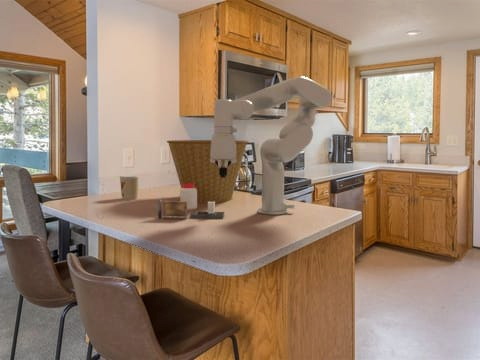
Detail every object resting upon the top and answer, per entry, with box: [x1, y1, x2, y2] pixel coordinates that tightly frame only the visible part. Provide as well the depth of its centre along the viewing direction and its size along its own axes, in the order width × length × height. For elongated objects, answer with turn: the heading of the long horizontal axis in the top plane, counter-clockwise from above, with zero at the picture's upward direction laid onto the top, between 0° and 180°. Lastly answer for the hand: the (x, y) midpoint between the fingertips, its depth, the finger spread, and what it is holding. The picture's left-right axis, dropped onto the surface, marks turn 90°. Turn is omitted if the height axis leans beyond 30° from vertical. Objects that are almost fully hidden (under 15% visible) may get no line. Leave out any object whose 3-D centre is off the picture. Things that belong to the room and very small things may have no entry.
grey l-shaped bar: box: [157, 199, 188, 220], centre depth 152 cm, size 12×1×8 cm, turn 86°
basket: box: [166, 139, 250, 204], centre depth 200 cm, size 42×42×30 cm
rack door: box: [162, 200, 188, 218], centre depth 152 cm, size 10×1×6 cm, turn 86°
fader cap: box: [207, 201, 216, 214], centre depth 156 cm, size 2×4×5 cm, turn 176°
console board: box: [190, 210, 225, 220], centre depth 157 cm, size 13×6×2 cm, turn 86°
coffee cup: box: [119, 174, 139, 201], centre depth 198 cm, size 9×9×12 cm
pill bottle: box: [179, 183, 198, 210], centre depth 175 cm, size 8×8×11 cm
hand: (223, 177), depth 154 cm, fingers closed
